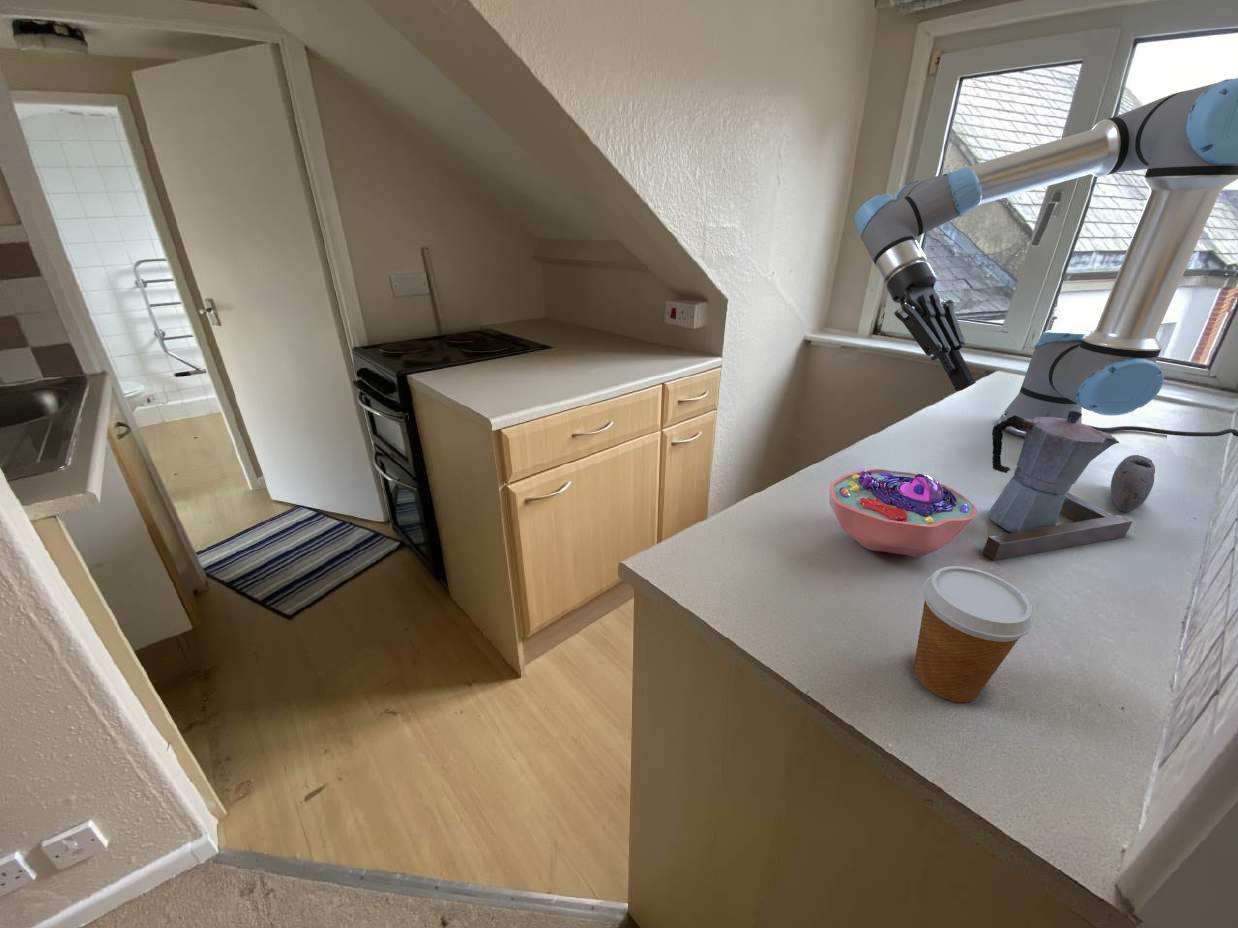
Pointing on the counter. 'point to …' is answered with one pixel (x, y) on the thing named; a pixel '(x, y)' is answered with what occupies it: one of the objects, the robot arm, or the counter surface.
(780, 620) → the counter surface
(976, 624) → the disposable coffee cup
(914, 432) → the counter surface
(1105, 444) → the moka pot
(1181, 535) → the counter surface
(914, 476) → the cell model
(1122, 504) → the perforated stone tool
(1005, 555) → the corner guide
